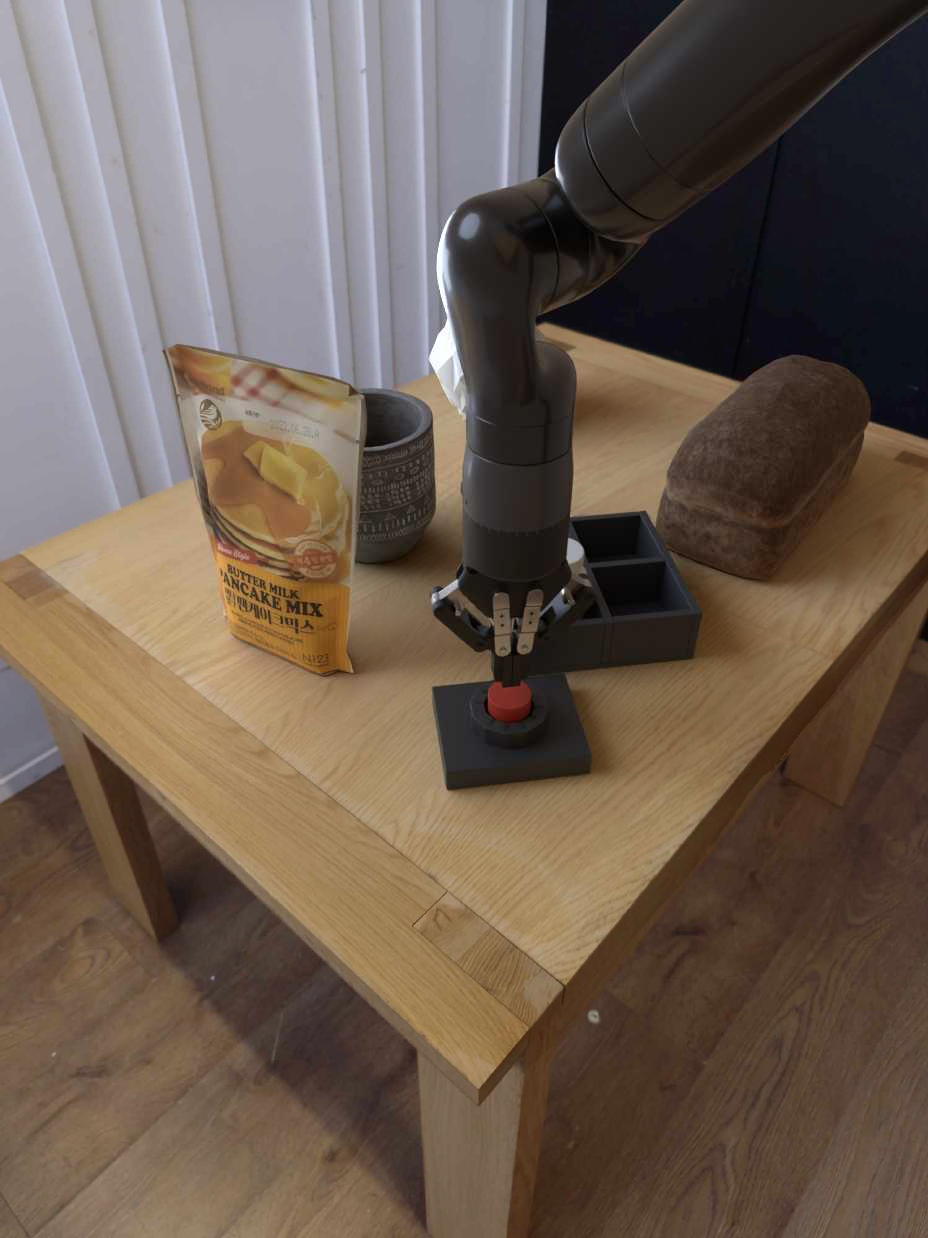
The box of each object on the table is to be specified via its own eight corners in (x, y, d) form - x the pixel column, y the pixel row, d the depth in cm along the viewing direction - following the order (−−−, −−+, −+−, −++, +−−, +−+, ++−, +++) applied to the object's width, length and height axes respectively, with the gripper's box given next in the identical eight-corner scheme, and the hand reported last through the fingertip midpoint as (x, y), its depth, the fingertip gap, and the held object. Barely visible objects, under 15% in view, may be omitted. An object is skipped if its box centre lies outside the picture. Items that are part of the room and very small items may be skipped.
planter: (462, 533, 100) (462, 412, 91) (376, 592, 92) (365, 466, 82) (372, 491, 107) (363, 375, 98) (284, 543, 99) (264, 422, 89)
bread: (862, 469, 111) (902, 347, 100) (763, 597, 91) (799, 461, 81) (751, 436, 117) (777, 319, 107) (637, 548, 98) (656, 417, 88)
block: (562, 690, 81) (565, 657, 78) (590, 773, 73) (594, 740, 71) (432, 703, 79) (431, 671, 77) (446, 790, 72) (445, 757, 69)
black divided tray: (639, 553, 97) (645, 510, 94) (693, 658, 84) (703, 613, 80) (483, 567, 95) (483, 524, 92) (513, 677, 82) (514, 631, 78)
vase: (408, 420, 122) (401, 284, 110) (478, 378, 132) (479, 250, 120) (504, 454, 114) (508, 312, 102) (571, 408, 124) (581, 274, 112)
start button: (526, 691, 76) (526, 676, 74) (534, 721, 73) (535, 706, 72) (484, 695, 75) (484, 680, 74) (491, 726, 72) (491, 711, 71)
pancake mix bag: (244, 589, 93) (189, 327, 75) (392, 652, 85) (370, 377, 67) (197, 624, 88) (128, 355, 70) (349, 694, 80) (314, 412, 63)
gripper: (427, 536, 57) (434, 722, 68) (625, 520, 59) (600, 704, 70) (415, 477, 63) (423, 657, 74) (596, 463, 64) (577, 642, 76)
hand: (509, 679), depth 72 cm, fingers closed
